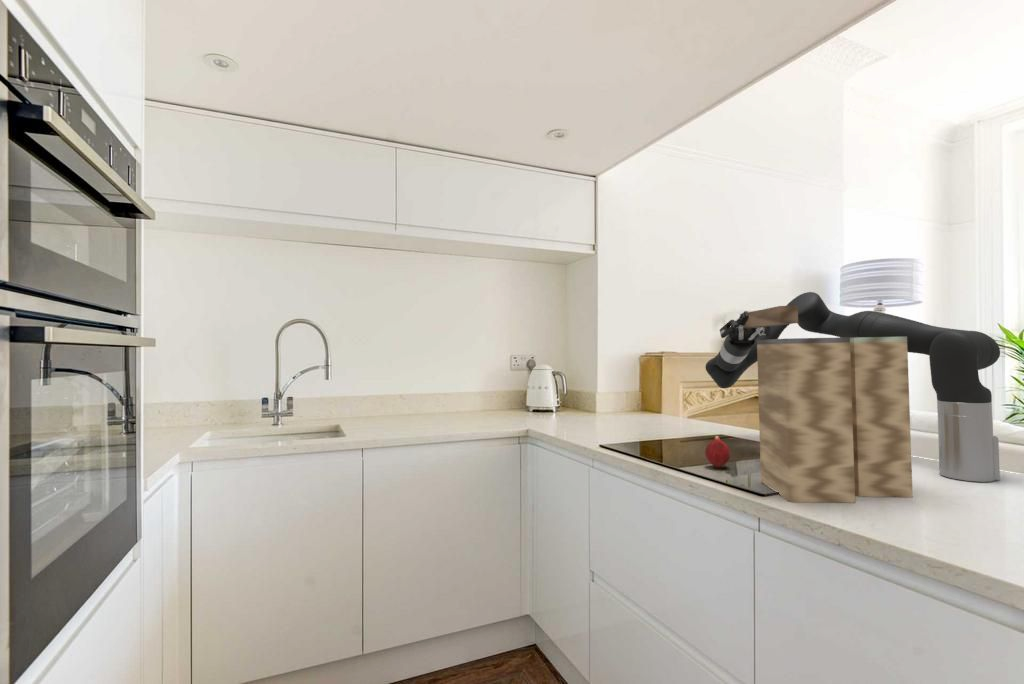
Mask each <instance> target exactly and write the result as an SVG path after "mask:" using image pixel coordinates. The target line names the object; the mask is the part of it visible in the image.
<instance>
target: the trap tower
mask: <svg viewBox="0 0 1024 684" xmlns="http://www.w3.org/2000/svg"><path fill="white" fill-rule="evenodd" d="M757 360H758V361H757V388H758V391H757V393H758V419H759V420H758V421H759V422H758V423H759V424H758V427H759V429H758V430H759V454H760V456H759V459H760V462H759V463H760V483H761V482H762V483H764V484H766V485H767V486H769V487H771V488H773V489H774V490H776V491H778V492H779V494H780V495H781V496H780V495H779V494H778V495H779V496H780V497H782V498H784V499H785V500H787V501H788V502H790V503H854V504H856V495H855V481H854V450H853V420H852V389H851V359H850V337H842V338H841V337H809V338H808V337H801V338H800V337H799V338H778V339H770V340H757ZM762 483H761V484H762ZM764 484H763V485H764ZM767 486H766V487H767Z"/></svg>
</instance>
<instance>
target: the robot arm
mask: <svg viewBox="0 0 1024 684" xmlns="http://www.w3.org/2000/svg"><path fill="white" fill-rule="evenodd" d="M797 305H798V323H796V324H797V325H798V327H800V328H801V329H802V330H804V331H806V332H809V333H810V332H811V333H815V334H821V335H822V334H823V335H828V336H835V337H836V338H842V337H850V338H857V337H906V336H907V350H908V353H912V354H922V355H927V356H928V357H929V369H930V380H931V386H932V389H933V390H934V392H935V394H936V405H937V406H936V410H937V433H938V437H937V439H938V462H939V464H938V466H939V475H940V476H943V477H946V478H950V479H953V480H954V479H955V480H960V481H967V482H978V483H979V482H981V483H987V482H994V481H1000V480H1001V475H1000V473H1001V471H1000V468H1001V467H1000V447H999V437H998V436H997V435H994V424H993V420H994V419H993V418H994V417H993V402H992V401H993V399H992V392H991V390H990V389H989V388H988V387H985V385H983V384H982V383H981V380H980V377H979V371H980V370H983V369H987V368H988V367H991V366H993V365H994V364H995V363H996V362H998V360H999V359H1000V356H1001V348H1000V347H999V344H998V343H997V341H996V340H995V339H993V337H991V336H990V335H988V334H986V333H984V332H980V331H978V330H977V331H976V330H966V329H957V328H947V327H943V326H942V327H940V326H935V325H931V324H927V323H923V322H920V321H916V320H913V319H910V318H906V317H901V316H897V315H895V314H889V313H885V312H881V311H874V310H863V311H858V312H855V313H852V314H850V315H844V314H839V313H837V312H834V311H831V310H830V309H829V307H827V305H826V303H825V302H824V300H823V299H822V297H821V296H820V295H819V294H818V293H817V292H814V291H806V292H804V293H801V294H799V295H798V296H795V298H793V299H792V300H790V302H788V303H787V304H786V305H785V306H797ZM740 314H741V316H739V318H737V319H736V320H735V319H730V320H729V321H728V322H726V323H725V324H724V325H723V326H722V327H721V328H720V329H719V334H720V338H721V339H724V340H723V343H722V344H721V346H720V350H719V352H718V354H717V355H715V356H714V357H712V358H711V359H709V360H708V361H706V364H705V371H706V372H707V375H709V377H710V378H711V379H712V380H713V382H715V384H716V385H717V386H718V387H719V388H720V389H729V388H731V387H733V386H734V385H735V384H736V383H737V381H738V380H739V379H740V377H741V376H742V375H743V374H744V373H745V372H746V371H747V370H748V369H749V368H750V367H751V366H753V364H756V363H758V360H757V340H770V339H780V336H781V335H782V334H783V332H784V330H786V328H788V326H789V325H790V324H785V325H777V326H768V327H760V328H743V327H744V326H743V325H745V323H746V322H747V320H748V318H749V316H748V311H747V310H746V311H745V310H744V311H743V312H742V313H740Z"/></svg>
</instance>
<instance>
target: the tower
mask: <svg viewBox="0 0 1024 684" xmlns="http://www.w3.org/2000/svg"><path fill="white" fill-rule="evenodd" d="M908 353H909V352H908V350H907V336H906V337H857V338H850V359H851V389H852V420H853V450H854V481H855V496H857V497H860V498H861V497H863V498H865V497H867V498H875V497H876V498H877V497H878V498H913V494H914V493H913V472H912V471H913V467H912V444H911V443H912V441H911V435H912V434H911V415H910V414H911V412H910V409H911V408H910V407H911V406H910V384H909V383H910V382H909V359H908V358H909V356H908V355H909V354H908ZM894 496H895V497H894Z"/></svg>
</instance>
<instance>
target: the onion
mask: <svg viewBox="0 0 1024 684" xmlns="http://www.w3.org/2000/svg"><path fill="white" fill-rule="evenodd" d="M704 453H705V457H706V459H707V460H708V462H709V463H710V465H712V466H714V467H715V468H717V469H719V468H721V467H723V466H724V465H725V464H727V462H728V461H729V460H730V458H731V450H730V448H729V446H728V444H726V442H724V441H723V440H721V438H720V436H718V435H716V436H714V439H713V440H712V441H710V442H709V443H708V444H707V445H706V448H705V451H704Z"/></svg>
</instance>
